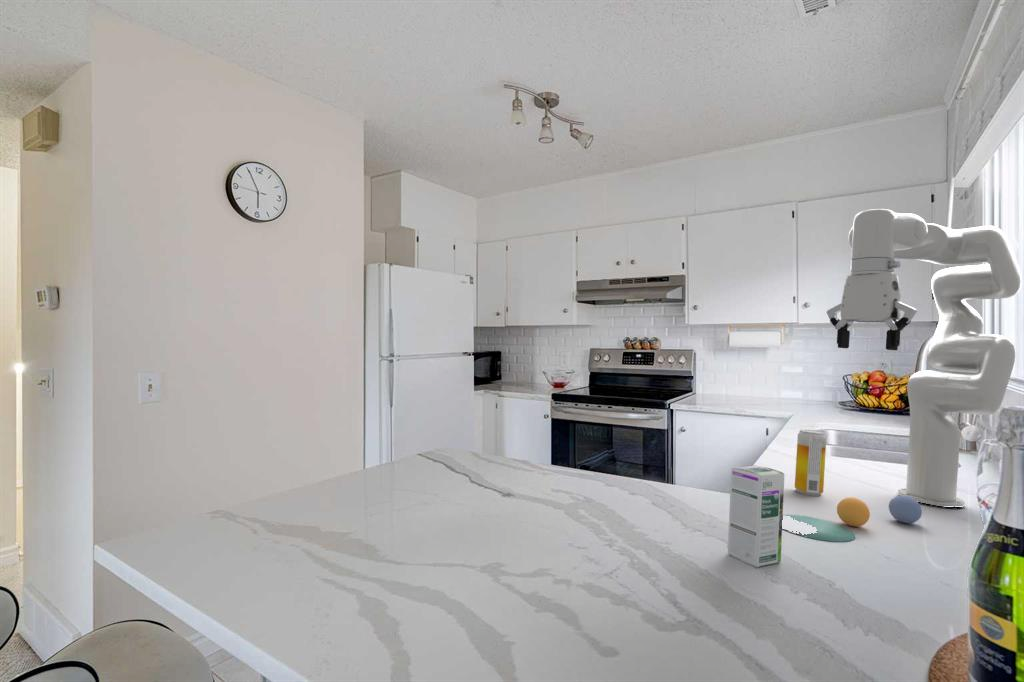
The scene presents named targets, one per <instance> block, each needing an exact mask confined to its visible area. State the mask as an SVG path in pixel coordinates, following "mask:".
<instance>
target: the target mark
mask: <svg viewBox="0 0 1024 682" xmlns="http://www.w3.org/2000/svg"><path fill="white" fill-rule="evenodd" d="M785 515H786V516H790V517H791V518H793V520H794V519H795V520H797V521H799V522H801V521H802V522H804V523H807V525H808V524H809V525H812V527H816V529H817V531H816V532H817V533H814V534H813V533H811V534H807V535H806V534H804V535H803V536H807V537H810V538H809V539H812V538H814V539H813V540H817V539H819V540H818V541H823V540H825V541H824V542H831V541H832V542H831V543H833V542H835V543H844V542H845V543H847V542H852V541H854V540H855V539H856V538H857V537H856V534H855V532H854V531H852V530H850V528H847V527H845V526H843V525H841V524H838V523H836V522H832V521H829V520H826V519H821V518H819V517H818V518H817V517H813V516H806V515H798V514H785ZM792 532H793V531H792ZM796 532H797V531H796ZM796 534H797V533H796ZM796 534H795V535H796ZM799 534H800V535H802V534H801V533H800V532H799ZM800 535H799V536H800ZM803 536H802V537H803ZM807 537H806V538H807Z"/></svg>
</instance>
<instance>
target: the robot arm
mask: <svg viewBox="0 0 1024 682" xmlns="http://www.w3.org/2000/svg"><path fill="white" fill-rule="evenodd" d="M847 238H848V240H847V241H848V244H849V246H850V248H851V256H850V257H851V260H850V273H849V274H850V275H847V277H846V279H845V282H844V285H843V290H842V296H841V302H840V303H839V304H837V305H836V306H834V307H832V308H829V309H828V310H826V314H827V317H828V319H829V321H830V322H829V323H831V324H832V325H833V327H834V329H835V330H837V334H836V344H837V348H838V349H849V347H850V336H851V335H850V334H851V331H850V330H848V329H849V328H850V327H851V326H852V325H853V323H885V324H886V326H887V327H889V329H887V330H886V340H885V349H886V350H887V351H898V347H900V343H901V332H902V331H904V329H905V327H907V326H908V325H909V324H910V323H911V322H912V320H913V318H914V317H915V315H916V314H917V312H918V311H917V309H916V308H914V307H912V306H910V305H908V304H905V303H903V302H902V300H901V298H902V296H901V289H900V288H901V287H900V281H899V276H898V274H895V273H894V272H895V269H899V268H900V267H901V262H900V261H899V260H909V261H923V262H928V263H931V264H936V265H939V266H940V265H941V266H953V267H947V268H943V269H940V270H938V271H936V272H935V273H934V274H933V276H932V278H931V281H930V283H931V285H930V287H931V290H932V291H931V292H932V294H933V295H932V296H933V298H934V301H935V305H936V309H937V311H938V315H939V319H938V324H937V327H936V330H935V332H934V334H933V337H932V340H931V342H930V346H929V348H928V351H927V362H928V365H930V366H931V368H933V369H929V370H928V369H927V370H921V371H920V370H919V371H917V372H915V373H913V374H912V375H911V376H910V377H909V378H908V380H907V385H906V389H907V391H906V392H907V397H908V404H909V416H910V417H909V418H910V419H909V436H908V449H907V450H908V452H907V453H908V455H907V469H906V470H907V472H906V485H905V487H906V488H905V487H904V488H899V489H898V490H897V495H898V494H899V495H900V496H901V495H904V496H909V497H911V498H913V499H915V500H916V501H918V502H921V503H920V504H922V503H926V504H931V505H930V506H932V505H938V506H954V507H955V506H963V505H964V504H965V501H964V500H963V499H961V498H959V497H957V491H958V489H957V488H958V476H959V475H958V473H959V457H960V443H961V441H960V440H961V430H960V428H959V425H958V423H957V421H955V419H954V418H953V416H952V415H951V414H950V413H960V414H967V415H976V416H977V415H978V416H990V415H993V414H995V413H996V412H997V411H998V410H999V409H1000V408H1001V406H1002V403H1003V400H1004V397H1005V394H1006V391H1007V388H1008V385H1009V383H1010V378H1011V376H1012V372H1013V369H1014V365H1015V359H1016V351H1015V345H1014V344H1013V342H1012V341H1011V339H1009V338H1008V337H1006V336H1004V335H1000V334H991V333H982V330H983V327H984V321H983V318H982V317H981V315H980V314H979V312H978V311H977V310H976V309H974V308H973V306H971V305H969V303H967V300H970V301H973V300H974V301H975V300H1000V299H1009V298H1011V297H1013V296H1015V295H1017V294H1018V293H1019V291H1020V290H1021V288H1022V286H1023V285H1022V284H1023V279H1022V278H1023V277H1022V272H1021V269H1020V266H1019V264H1018V261H1017V258H1016V256H1015V253H1014V250H1013V249H1012V246H1011V244H1010V241H1009V240H1008V238H1007V236H1006V234H1005V233H1004V232H1003V231H1002V230H1001V229H1000V227H999V228H998V227H997V226H994V225H984V226H983V225H982V226H975V227H968V228H960V229H958V228H957V229H954V228H949V227H946V226H943V225H939V224H937V223H926V221H925V219H923V218H922V217H921V216H919V215H918V214H915V213H906V212H905V213H904V212H903V213H900V212H894V211H893V210H891V209H886V208H875V209H874V208H873V209H867V210H862V211H860V212H858V213H857V214H855V216H854V217H853V225H852V227H851V229H850V230H849V232H848V237H847ZM895 259H896V260H895ZM983 263H987V264H983ZM969 264H970V265H969ZM971 264H972V265H971ZM976 264H977V265H976ZM957 265H959V266H957ZM960 265H961V266H960ZM901 311H902V312H904V313H903V316H901ZM838 313H840V318H841V319H840V318H838ZM899 495H898V496H899ZM926 504H925V505H926ZM964 506H965V505H964Z"/></svg>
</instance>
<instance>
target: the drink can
mask: <svg viewBox="0 0 1024 682" xmlns="http://www.w3.org/2000/svg"><path fill="white" fill-rule="evenodd" d="M796 441H797V443H796V456H795V457H796V458H795V476H794V477H795V478H794V488H795V489H796V491H797V492H798V494H799V493H800V494H803V495H806V496H811V497H812V496H815V497H818V496H821V494H822V493H824V486H825V485H824V483H825V466H826V452H827V436H826V432H824V431H820V430H813V429H799V431H798V433H797V440H796Z"/></svg>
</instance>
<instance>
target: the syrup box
mask: <svg viewBox="0 0 1024 682" xmlns="http://www.w3.org/2000/svg"><path fill="white" fill-rule="evenodd" d="M730 470H731V471H730V491H729V492H730V494H729V513H728V514H729V516H728V520H729V521H728V538H727V539H728V540H727V553H728V555H730V556H732V557H734V558H735V559H737V560H739V561H742V562H744V563H746V564H748V565H750V566H751V567H755V568H760V567H763V566H767V565H773V564H778V563H781V561H782V539H783V529H782V520H783V515H784V492H785V491H784V489H785V473H784V472H782V471H779V470H777V469H773V468H770V467H766V466H760V465H757V464H756V465H755V464H754V465H752V466H751V465H750V466H749V465H748V466H741V467H740V466H739V467H734V466H733V467H732V468H731V469H730Z"/></svg>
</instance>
